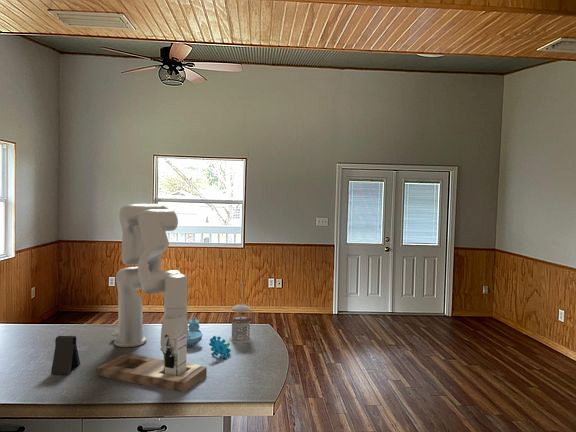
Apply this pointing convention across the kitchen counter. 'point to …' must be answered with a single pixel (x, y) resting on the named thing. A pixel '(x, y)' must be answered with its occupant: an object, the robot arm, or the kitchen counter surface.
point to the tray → (151, 372)
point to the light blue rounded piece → (193, 332)
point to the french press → (241, 324)
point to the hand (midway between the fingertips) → (175, 363)
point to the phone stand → (65, 355)
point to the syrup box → (178, 357)
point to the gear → (219, 347)
